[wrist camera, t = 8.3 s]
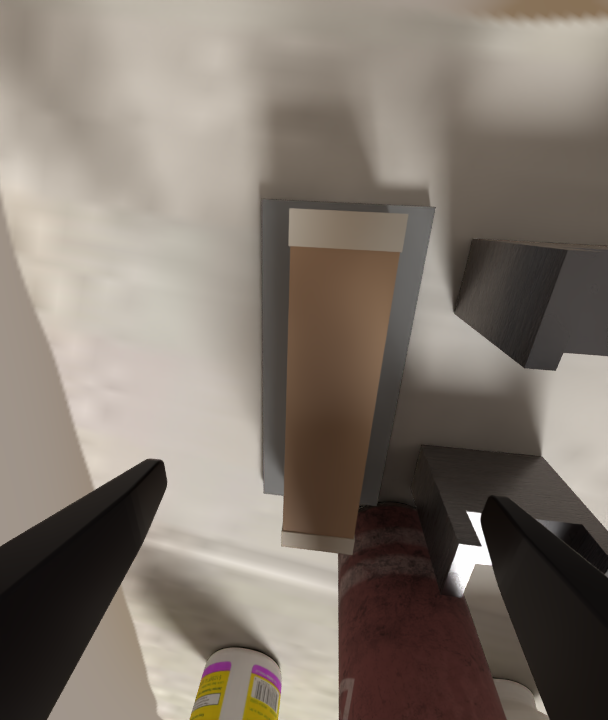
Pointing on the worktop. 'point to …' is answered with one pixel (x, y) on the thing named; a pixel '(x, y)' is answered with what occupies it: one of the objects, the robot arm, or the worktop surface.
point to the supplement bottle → (238, 687)
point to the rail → (334, 366)
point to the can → (405, 630)
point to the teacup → (517, 701)
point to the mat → (277, 333)
